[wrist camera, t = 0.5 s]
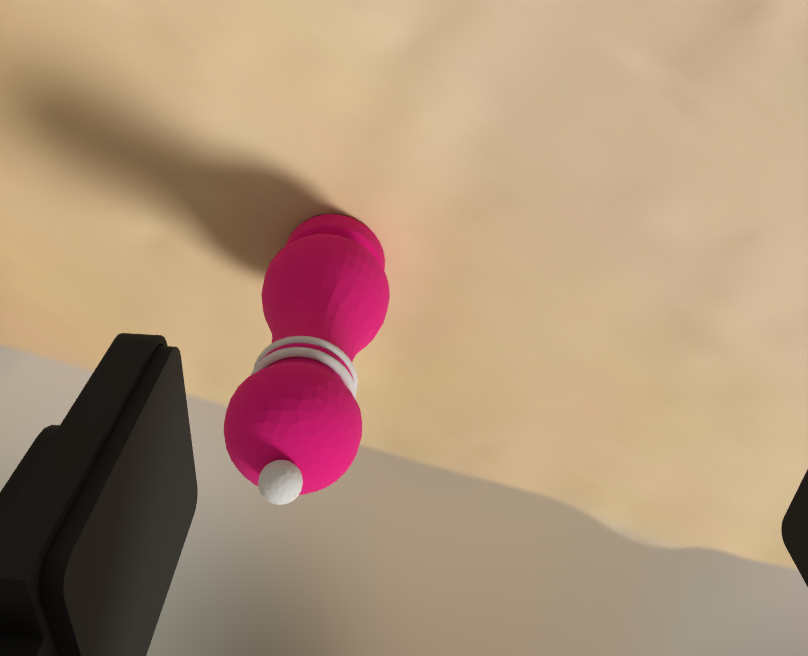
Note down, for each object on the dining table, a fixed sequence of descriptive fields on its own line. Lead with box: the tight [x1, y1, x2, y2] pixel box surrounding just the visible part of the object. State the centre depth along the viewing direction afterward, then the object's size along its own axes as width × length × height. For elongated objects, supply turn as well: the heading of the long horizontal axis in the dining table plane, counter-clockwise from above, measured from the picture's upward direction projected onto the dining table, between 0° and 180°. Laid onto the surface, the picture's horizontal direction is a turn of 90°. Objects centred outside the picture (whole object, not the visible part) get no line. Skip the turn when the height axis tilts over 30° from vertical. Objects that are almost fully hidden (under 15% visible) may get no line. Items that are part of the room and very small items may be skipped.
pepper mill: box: [224, 214, 389, 505], centre depth 37 cm, size 7×7×20 cm
